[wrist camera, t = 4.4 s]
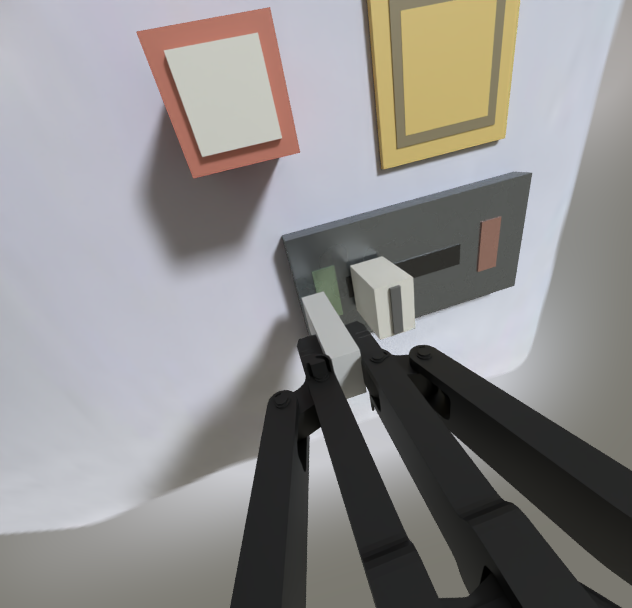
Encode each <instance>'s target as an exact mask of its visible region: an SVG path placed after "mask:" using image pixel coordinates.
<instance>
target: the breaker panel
mask: <svg viewBox="0 0 632 608" xmlns="http://www.w3.org/2000/svg"><path fill="white" fill-rule="evenodd" d="M531 177H532V173H528V172H512V173H508V174H504V175H501V176H497V177H493V178H490V179H486V180H482V181H479V182H475V183H472V184H468V185H464V186H461V187H457V188H453V189H450V190H446V191H442V192H439V193H435V194H432V195H428V196H424V197H421V198H417V199H413V200H410V201H406V202H402V203H399V204H395V205H392V206H388V207H384V208H381V209H377V210H373V211H370V212H366V213H362V214H359V215H355V216H351V217H348V218H344V219H341V220H337V221H333V222H330V223H326V224H322V225H319V226H315V227H311V228H308V229H304V230H301V231H297V232H293V233H290V234H286V235H282V238H283V242H284V245H285V249H286V253H287V257H288V260H289V264H290V268H291V271H292V275H293V279H294V283H295V286H296V290H297V294H298V297H299V301H300V305H301V308H302V312H303V316H304V320H305V323H306V327H307V331H308V334H309V336H312V335H311V333H310V329H309V325H308V321H307V318H306V314H305V310H304V306H303V302H302V297H306V296H309V295H313V294H316V293H320V292H323V291H324V293H325V295H326V296H327V298H328V300H329V301H330V303H331V304H332V306H333V308H334V309H335V311H336V312H337V314H338V316H339V317H340V319H341V320H342V322H343V324H344V325H346V324H349V323H352V322H355V321H358V322H360V323H362V324H364V325H365V327H366V328H367V330H368V331H369V332H373V330H372V329H371V328H370V326H369V325H368V324H367V323H366V321H365V320H364V319H363V317H362V316H361V315H360V314H359V312H358V311H357V308H356V302H355V296H354V289H353V283H352V277H351V270H350V266H351V265H354V264H358V263H361V262H364V261H368V260H371V259H375V258H378V257H381V256H383V257H384V258H386V259H387V260H389V261H390V262H392V263H393V264H395V265H396V266H397V267H399V268H400V269H402V270H403V271H405V272H406V273H408V274H409V275H411V276H412V277H413V283H414V309H415V318H416V317H419V316H422V315H425V314H429V313H432V312H435V311H438V310H441V309H444V308H447V307H450V306H453V305H456V304H459V303H462V302H465V301H468V300H472V299H475V298H478V297H481V296H484V295H487V294H490V293H493V292H496V291H499V290H502V289H505V288H508V287H511V286H514V284H515V278H516V272H517V265H518V259H519V253H520V247H521V240H522V234H523V228H524V221H525V215H526V209H527V202H528V196H529V190H530V183H531Z"/></svg>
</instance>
